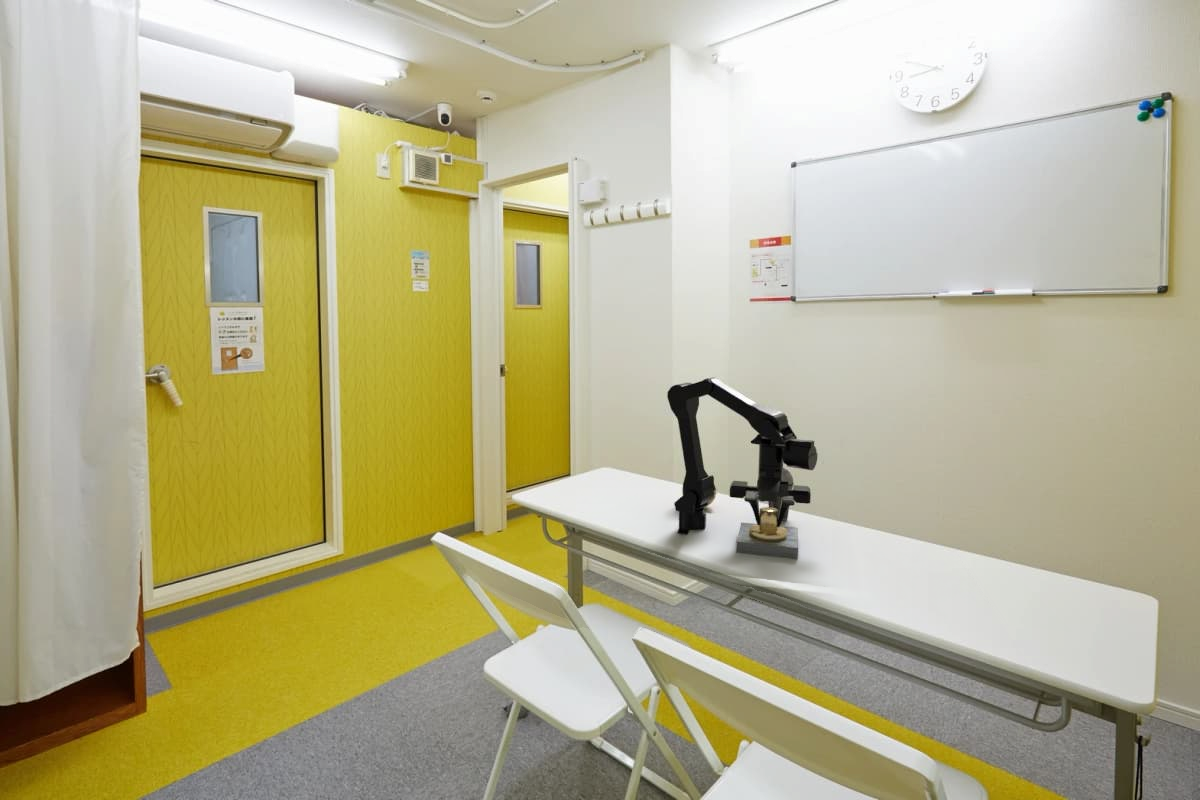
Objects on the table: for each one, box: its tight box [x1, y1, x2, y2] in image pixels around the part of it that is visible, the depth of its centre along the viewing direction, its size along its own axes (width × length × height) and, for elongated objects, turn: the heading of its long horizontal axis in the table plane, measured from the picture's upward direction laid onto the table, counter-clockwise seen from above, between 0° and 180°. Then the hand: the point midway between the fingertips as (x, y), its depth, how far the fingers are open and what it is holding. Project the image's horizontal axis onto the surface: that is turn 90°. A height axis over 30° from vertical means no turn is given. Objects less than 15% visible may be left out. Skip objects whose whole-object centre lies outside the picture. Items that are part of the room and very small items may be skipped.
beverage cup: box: [767, 467, 795, 522], centre depth 176 cm, size 7×7×20 cm
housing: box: [735, 522, 799, 560], centre depth 158 cm, size 14×14×4 cm
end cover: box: [749, 506, 787, 541], centre depth 157 cm, size 9×9×9 cm
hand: (768, 525), depth 157 cm, fingers closed on end cover, 4 cm apart
